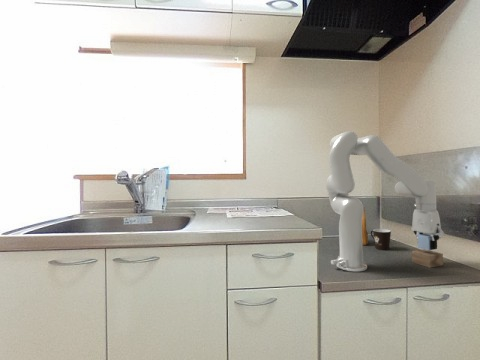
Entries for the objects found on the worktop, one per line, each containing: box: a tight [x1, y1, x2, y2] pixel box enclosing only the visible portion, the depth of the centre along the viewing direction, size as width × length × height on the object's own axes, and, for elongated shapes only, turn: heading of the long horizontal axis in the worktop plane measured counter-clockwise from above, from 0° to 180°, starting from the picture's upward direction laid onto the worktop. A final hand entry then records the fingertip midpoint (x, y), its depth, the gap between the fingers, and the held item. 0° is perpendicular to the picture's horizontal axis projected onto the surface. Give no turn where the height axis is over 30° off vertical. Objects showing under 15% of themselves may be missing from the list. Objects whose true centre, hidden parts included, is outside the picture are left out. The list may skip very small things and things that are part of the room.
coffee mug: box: [370, 228, 392, 251], centre depth 144 cm, size 12×9×10 cm
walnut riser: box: [411, 249, 444, 268], centre depth 117 cm, size 8×8×5 cm
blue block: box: [417, 233, 432, 251], centre depth 117 cm, size 5×5×6 cm
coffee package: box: [362, 206, 369, 246], centre depth 154 cm, size 10×12×22 cm
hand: (427, 247), depth 117 cm, fingers closed on blue block, 5 cm apart
